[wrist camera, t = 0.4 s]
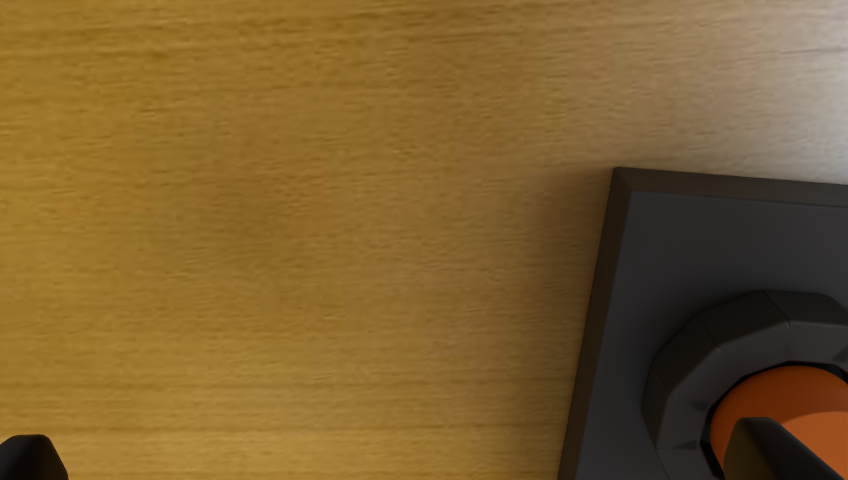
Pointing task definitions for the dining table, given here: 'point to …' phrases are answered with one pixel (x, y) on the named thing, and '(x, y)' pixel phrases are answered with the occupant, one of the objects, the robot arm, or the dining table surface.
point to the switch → (791, 410)
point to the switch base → (700, 313)
